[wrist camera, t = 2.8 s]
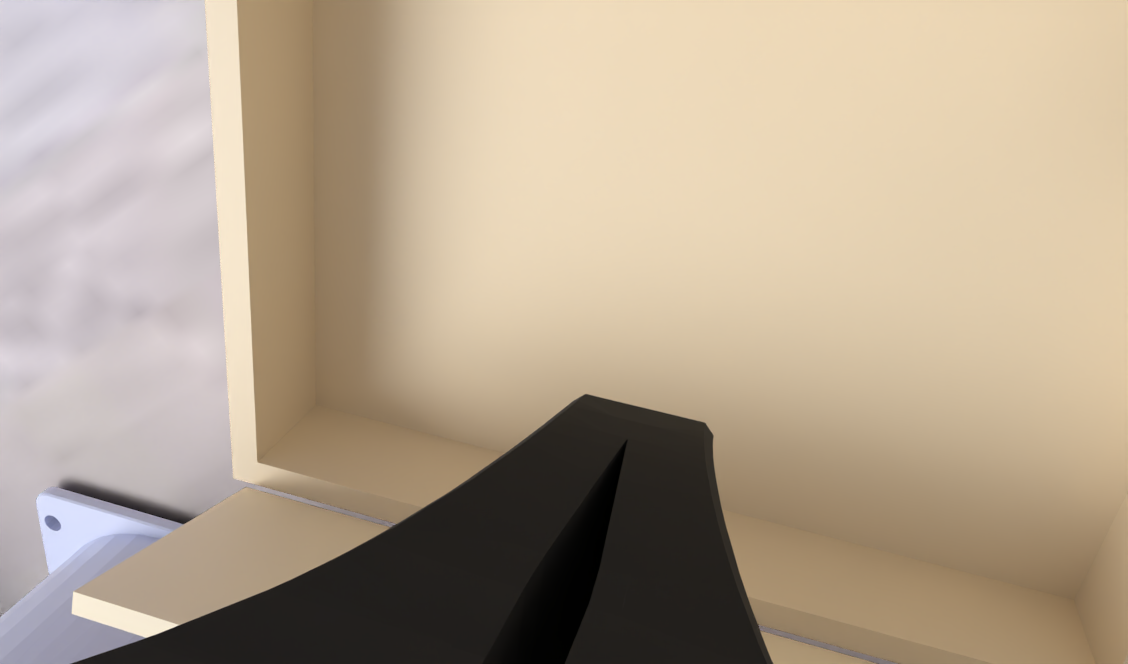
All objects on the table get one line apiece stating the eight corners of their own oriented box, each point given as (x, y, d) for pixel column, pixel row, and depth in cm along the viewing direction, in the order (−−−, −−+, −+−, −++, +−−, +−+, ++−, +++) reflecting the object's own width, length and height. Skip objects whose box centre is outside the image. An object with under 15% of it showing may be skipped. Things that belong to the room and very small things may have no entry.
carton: (1088, 613, 19) (1128, 727, 16) (303, 409, 22) (233, 478, 20) (1470, -138, 13) (1635, -146, 10) (293, -270, 16) (186, -302, 13)
